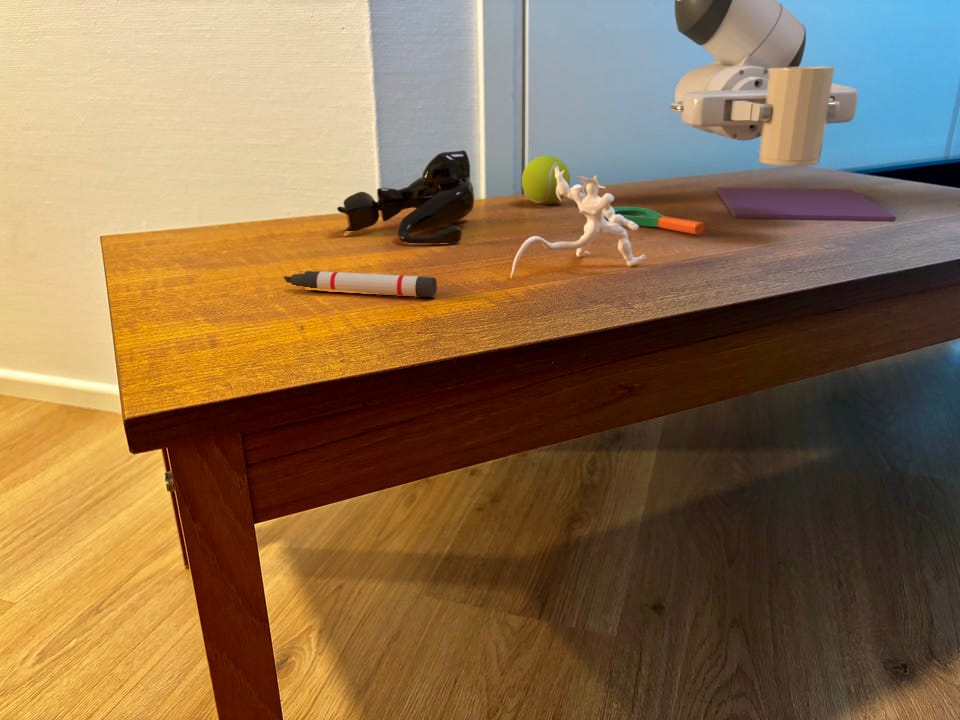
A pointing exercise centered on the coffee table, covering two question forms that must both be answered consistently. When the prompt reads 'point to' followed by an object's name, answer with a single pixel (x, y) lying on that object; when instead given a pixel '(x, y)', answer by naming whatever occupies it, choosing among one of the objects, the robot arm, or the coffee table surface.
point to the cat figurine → (420, 201)
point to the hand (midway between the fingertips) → (800, 111)
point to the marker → (367, 283)
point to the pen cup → (796, 115)
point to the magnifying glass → (658, 220)
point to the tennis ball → (543, 179)
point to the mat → (801, 204)
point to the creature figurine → (589, 221)
